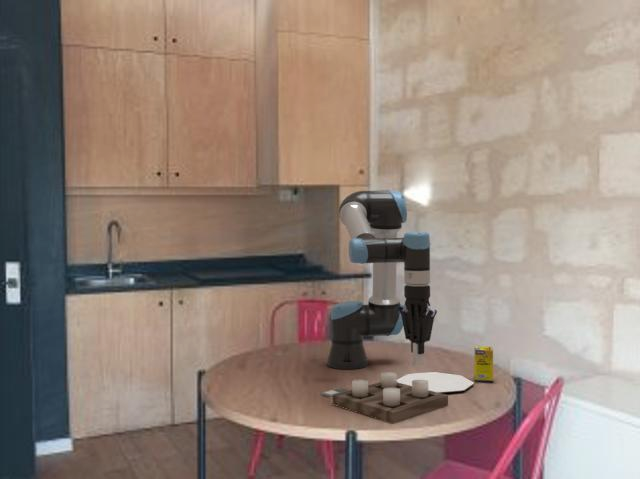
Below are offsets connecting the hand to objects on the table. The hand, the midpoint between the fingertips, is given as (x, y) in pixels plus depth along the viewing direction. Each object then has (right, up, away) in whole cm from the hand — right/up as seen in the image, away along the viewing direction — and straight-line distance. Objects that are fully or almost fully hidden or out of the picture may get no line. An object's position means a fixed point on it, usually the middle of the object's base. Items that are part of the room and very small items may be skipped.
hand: (417, 364), depth 197 cm
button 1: (-17, -9, +2) cm, 19 cm away
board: (-8, -12, +1) cm, 15 cm away
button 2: (-8, -9, +10) cm, 15 cm away
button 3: (-9, -10, -8) cm, 15 cm away
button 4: (+1, -9, +1) cm, 9 cm away
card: (-22, -12, +13) cm, 28 cm away
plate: (+9, -12, +23) cm, 27 cm away
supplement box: (+26, -11, +27) cm, 39 cm away
